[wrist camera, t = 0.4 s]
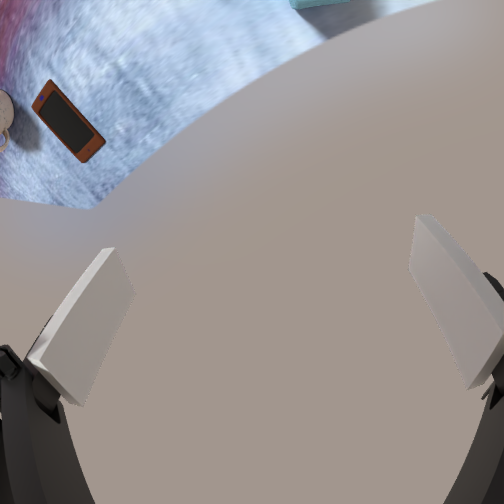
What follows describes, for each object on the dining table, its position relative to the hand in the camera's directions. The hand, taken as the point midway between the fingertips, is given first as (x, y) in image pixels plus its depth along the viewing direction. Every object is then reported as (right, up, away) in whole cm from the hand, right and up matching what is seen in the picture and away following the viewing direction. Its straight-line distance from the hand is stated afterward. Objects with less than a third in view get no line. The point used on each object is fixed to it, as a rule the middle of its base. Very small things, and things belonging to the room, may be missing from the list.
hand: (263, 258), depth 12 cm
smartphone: (-29, +21, +23) cm, 43 cm away
